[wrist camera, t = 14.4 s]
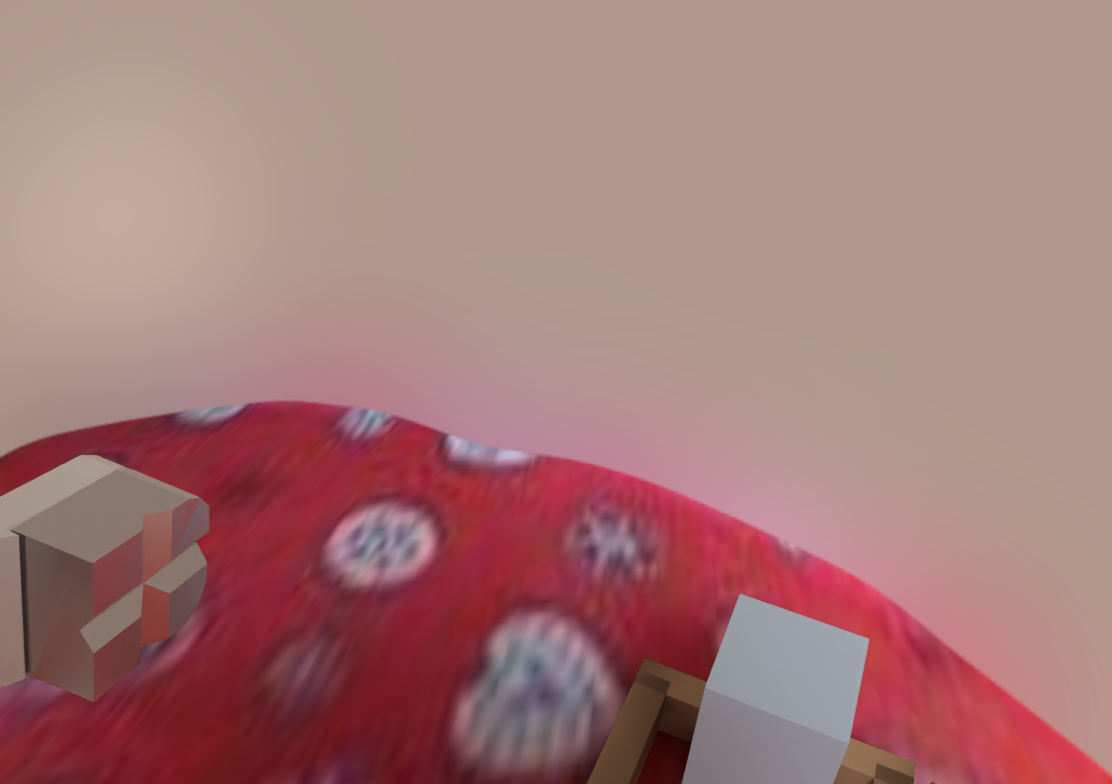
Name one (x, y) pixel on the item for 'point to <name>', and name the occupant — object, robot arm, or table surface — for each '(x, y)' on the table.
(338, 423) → the table surface
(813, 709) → the grey block
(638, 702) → the wooden u-shaped frame
